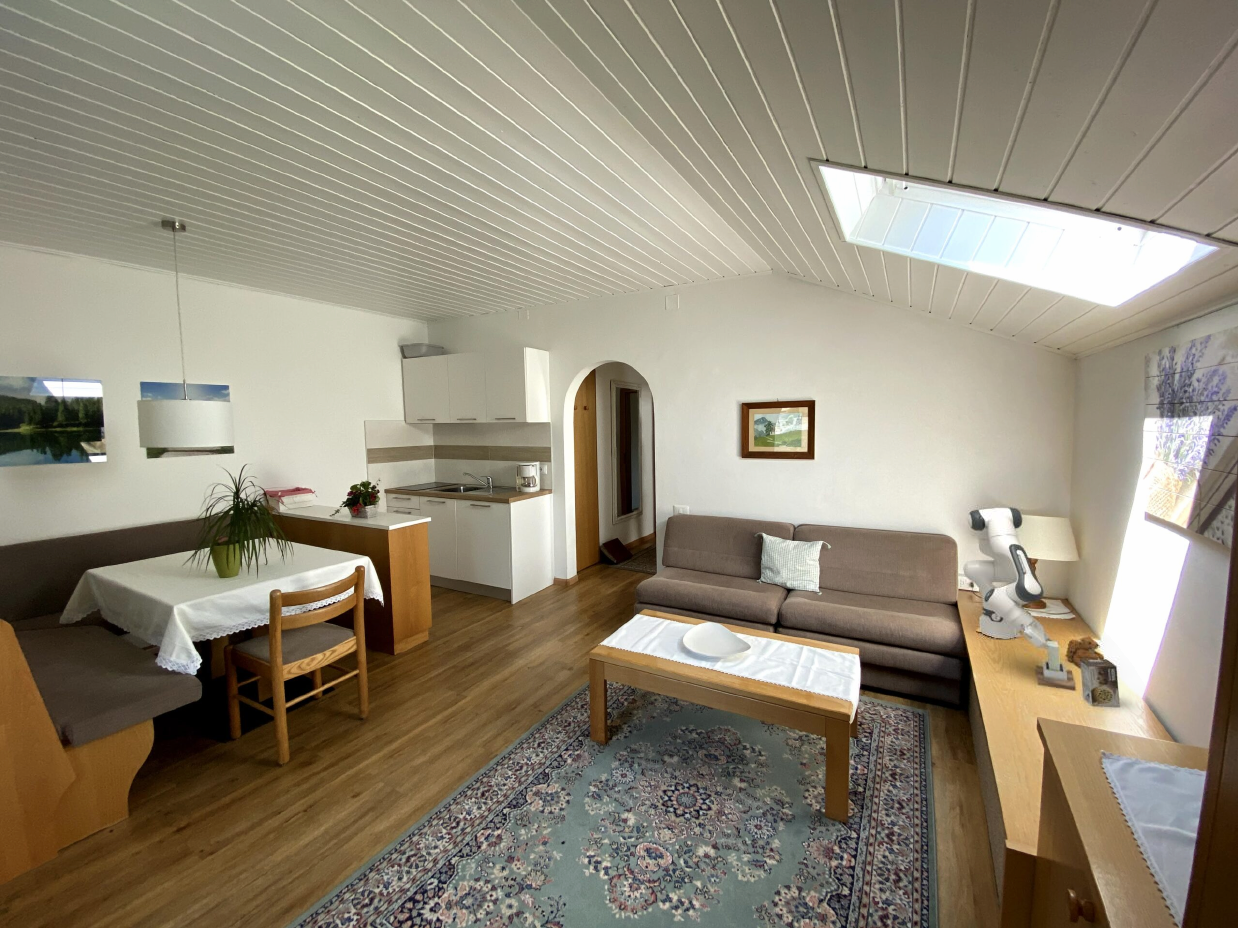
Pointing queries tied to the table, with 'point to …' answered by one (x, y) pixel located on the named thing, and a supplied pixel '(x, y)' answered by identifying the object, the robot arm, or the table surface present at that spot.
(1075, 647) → the stuffed squirrel
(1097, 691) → the coffee box
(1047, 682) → the wooden base with socket
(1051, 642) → the pale green rectangular block
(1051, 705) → the table surface
